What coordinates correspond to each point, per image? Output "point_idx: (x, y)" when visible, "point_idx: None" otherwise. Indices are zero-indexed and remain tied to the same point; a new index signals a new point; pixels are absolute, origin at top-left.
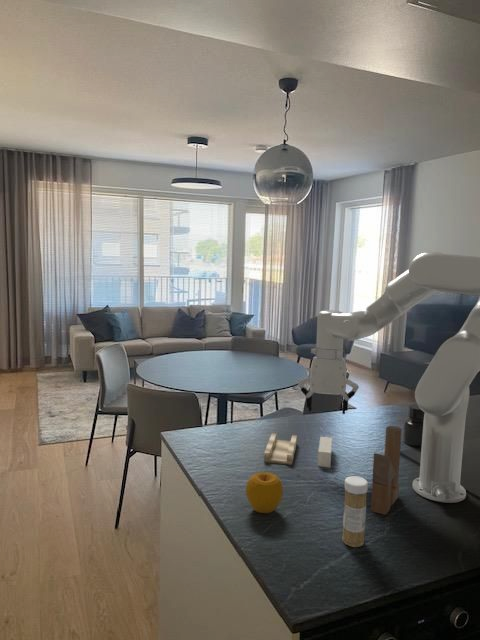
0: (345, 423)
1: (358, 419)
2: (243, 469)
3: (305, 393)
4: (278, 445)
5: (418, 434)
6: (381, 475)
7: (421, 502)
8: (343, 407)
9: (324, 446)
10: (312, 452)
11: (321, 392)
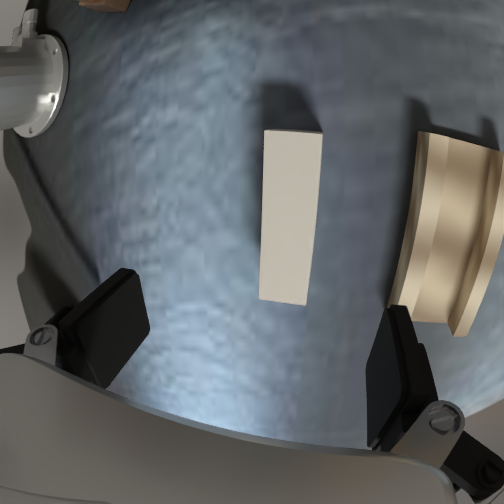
0: (231, 427)
1: None
2: None
3: (462, 445)
4: (452, 278)
5: (57, 324)
6: None
7: (68, 17)
8: (104, 294)
9: (293, 198)
10: (338, 252)
11: (266, 448)
